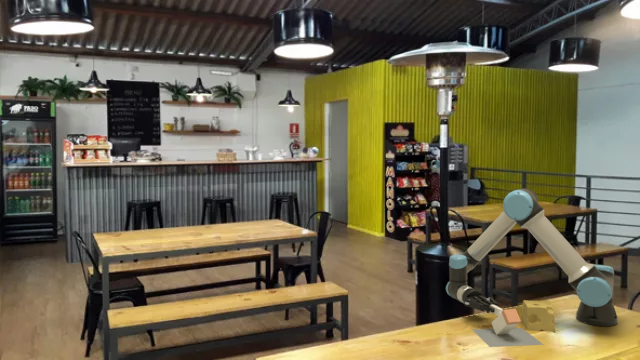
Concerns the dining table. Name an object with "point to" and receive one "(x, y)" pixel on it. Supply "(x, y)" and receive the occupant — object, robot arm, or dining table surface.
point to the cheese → (538, 315)
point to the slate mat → (507, 338)
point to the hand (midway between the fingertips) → (501, 312)
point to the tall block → (506, 321)
